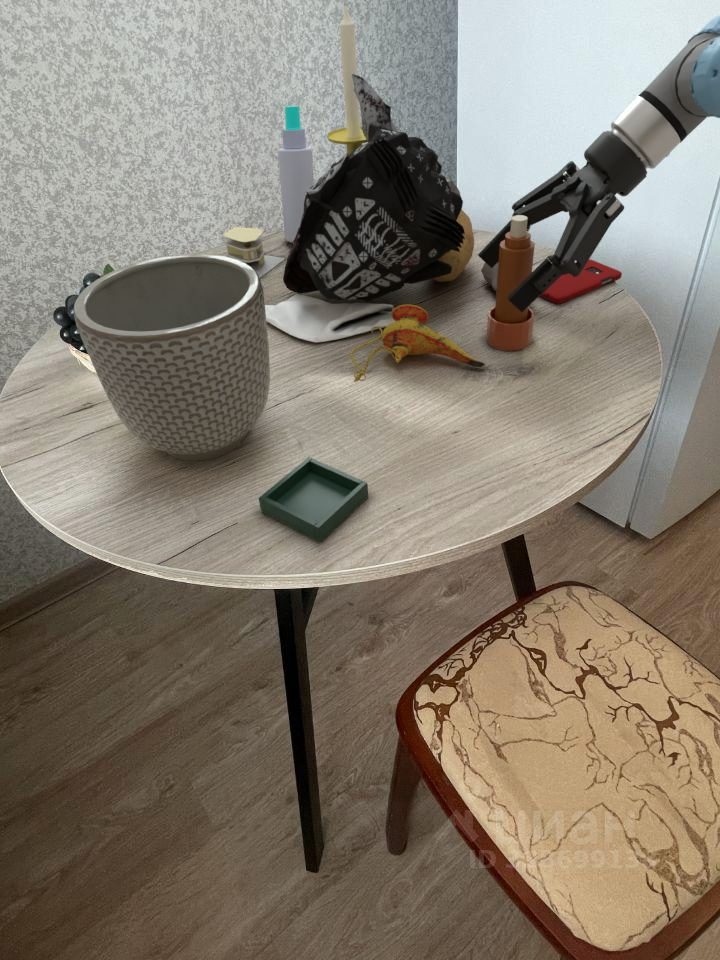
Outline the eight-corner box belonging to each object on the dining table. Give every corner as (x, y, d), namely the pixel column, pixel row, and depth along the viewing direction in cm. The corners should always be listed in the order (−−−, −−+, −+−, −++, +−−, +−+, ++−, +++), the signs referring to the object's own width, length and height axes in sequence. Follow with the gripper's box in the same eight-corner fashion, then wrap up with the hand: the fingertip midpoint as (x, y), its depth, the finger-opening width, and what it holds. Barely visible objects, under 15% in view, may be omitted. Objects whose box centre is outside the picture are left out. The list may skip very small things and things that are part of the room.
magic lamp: (484, 336, 98) (479, 406, 94) (357, 324, 99) (347, 393, 95) (491, 307, 92) (487, 381, 88) (356, 295, 93) (345, 368, 89)
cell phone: (558, 299, 105) (557, 305, 105) (624, 271, 110) (623, 277, 111) (521, 282, 110) (521, 287, 110) (587, 256, 115) (586, 262, 116)
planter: (114, 414, 90) (64, 275, 78) (260, 377, 95) (235, 239, 83) (135, 508, 76) (79, 356, 64) (306, 458, 81) (284, 307, 68)
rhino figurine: (543, 313, 105) (505, 317, 104) (509, 274, 115) (475, 277, 114) (547, 287, 102) (509, 291, 101) (513, 250, 112) (477, 253, 111)
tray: (368, 497, 75) (367, 482, 74) (320, 543, 70) (318, 528, 69) (310, 470, 79) (308, 456, 78) (261, 512, 74) (258, 497, 73)
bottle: (530, 331, 98) (543, 215, 88) (516, 345, 96) (527, 226, 85) (502, 324, 100) (511, 209, 90) (487, 337, 98) (495, 220, 87)
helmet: (245, 264, 89) (407, 70, 83) (220, 225, 110) (347, 69, 104) (380, 382, 102) (527, 222, 97) (335, 327, 124) (453, 194, 118)
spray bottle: (308, 244, 126) (299, 106, 115) (279, 242, 129) (267, 107, 118) (323, 237, 131) (315, 105, 120) (295, 236, 133) (285, 106, 122)
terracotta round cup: (538, 335, 99) (541, 310, 96) (518, 355, 95) (521, 328, 93) (499, 325, 102) (501, 299, 99) (478, 343, 98) (480, 317, 96)
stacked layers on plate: (211, 271, 123) (204, 240, 119) (239, 251, 129) (234, 221, 125) (259, 278, 119) (253, 247, 115) (285, 258, 125) (281, 228, 121)
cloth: (232, 330, 105) (229, 316, 104) (276, 291, 115) (274, 278, 113) (392, 357, 96) (391, 343, 95) (425, 313, 106) (425, 299, 104)
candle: (360, 243, 128) (345, -4, 103) (401, 256, 122) (395, -2, 98) (321, 261, 122) (295, 6, 98) (362, 276, 117) (345, 9, 93)
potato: (404, 292, 111) (403, 235, 105) (433, 254, 122) (434, 200, 116) (456, 299, 108) (458, 240, 102) (482, 259, 119) (485, 203, 113)
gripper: (696, 205, 76) (547, 343, 85) (604, 143, 95) (490, 261, 104) (660, 159, 73) (509, 308, 81) (572, 104, 91) (457, 230, 100)
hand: (498, 282), depth 93 cm, fingers open, 13 cm apart
